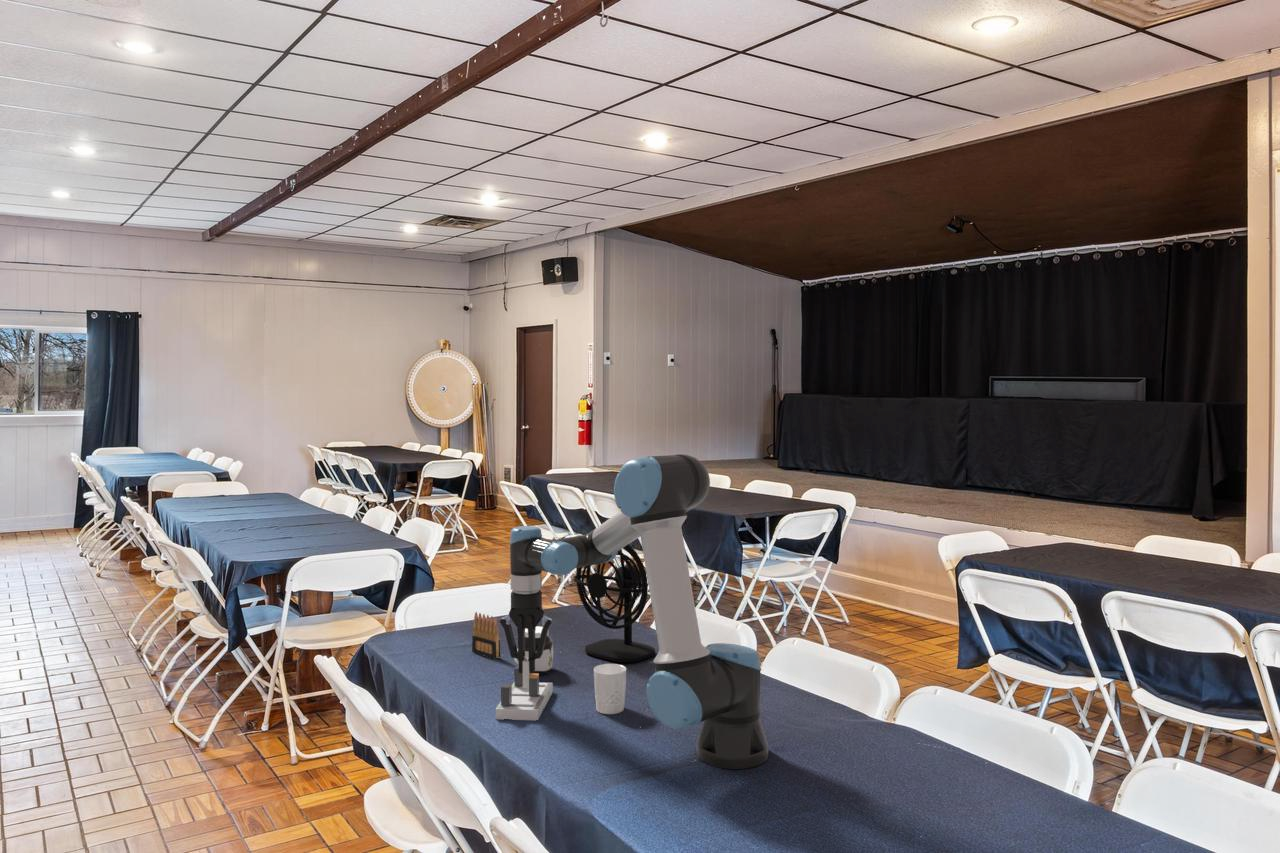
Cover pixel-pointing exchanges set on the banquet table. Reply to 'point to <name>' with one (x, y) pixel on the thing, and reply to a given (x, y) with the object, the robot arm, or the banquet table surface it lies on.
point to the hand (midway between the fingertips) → (527, 685)
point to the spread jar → (546, 659)
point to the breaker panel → (525, 703)
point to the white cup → (610, 688)
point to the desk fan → (627, 584)
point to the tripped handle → (534, 684)
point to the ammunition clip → (485, 636)
